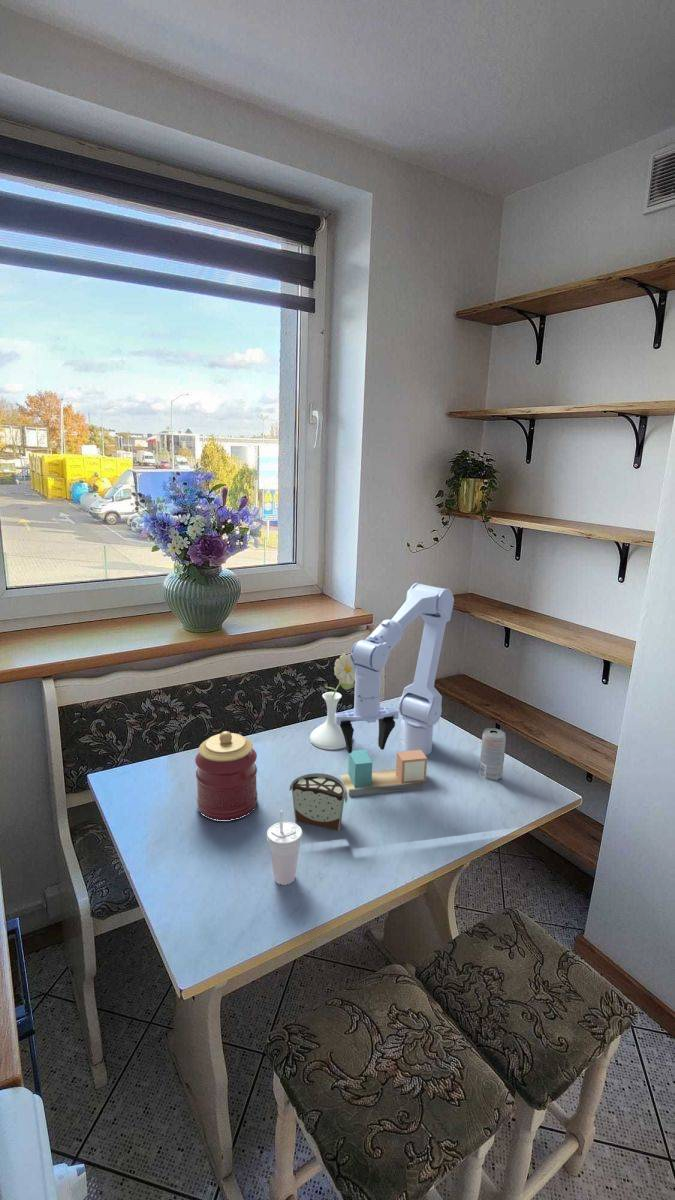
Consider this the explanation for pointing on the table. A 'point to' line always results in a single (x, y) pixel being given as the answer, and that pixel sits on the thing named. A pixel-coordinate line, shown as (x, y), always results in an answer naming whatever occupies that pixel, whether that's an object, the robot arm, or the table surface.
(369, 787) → the board
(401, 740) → the robot arm
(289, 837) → the smoothie
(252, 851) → the table surface
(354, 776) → the teal box
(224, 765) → the canister
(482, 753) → the energy drink
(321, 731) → the flower in vase
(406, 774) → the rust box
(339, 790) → the food container
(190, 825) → the table surface
